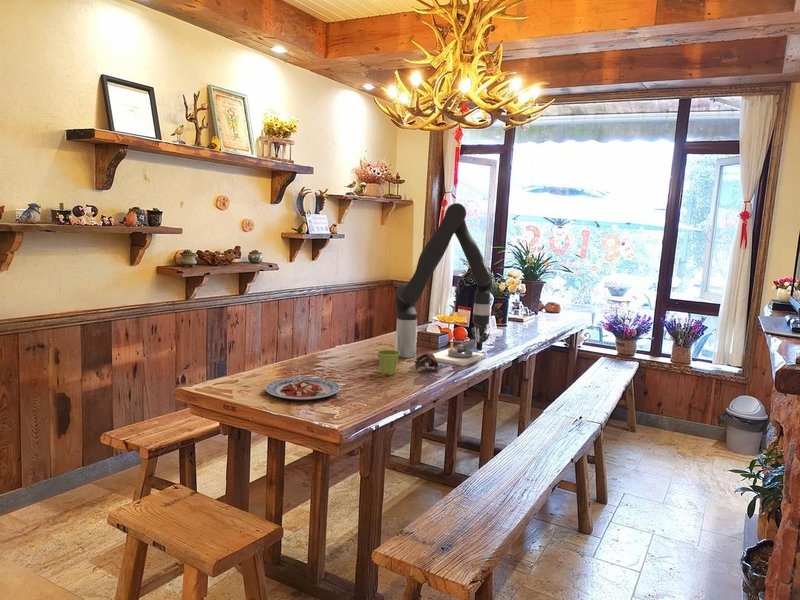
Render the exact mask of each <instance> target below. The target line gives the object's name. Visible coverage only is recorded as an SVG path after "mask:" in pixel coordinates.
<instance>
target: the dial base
mask: <svg viewBox="0 0 800 600" xmlns="http://www.w3.org/2000/svg"><path fill="white" fill-rule="evenodd" d="M451 349H454V343H453V342H450V347H448V348H446V349H444V350H441V351H438V352H435V353H432V354H433V355H434V356H435V359H436V360H437V362H440V363H445V364H451V365H457V366H461V367H465V366H467V365H470V364H472V363H475V362H477V361H480V360H482V359H484V358H486V353H482V352H475V351H472V352H473V353H472V357H468V358H458V357H452V356H449V355H448V351H449V350H451Z"/></svg>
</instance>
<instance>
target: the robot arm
mask: <svg viewBox="0 0 800 600" xmlns="http://www.w3.org/2000/svg"><path fill="white" fill-rule="evenodd" d="M466 216H467V211H466V207H465V206H464V205H463V204H462V203H458V202H455V203H451V204H450V205H448V207H447V208H446V210H445V213H444V216H443V219H442V220H441V222H440V224H439V226H438V227H437V229H436V231H435V232H434V233H433V234H432V236H431V237H430V238H429V240H428V241H427V243H426V244H425V246H424V247H423V249H422V251H421V252H420V255H419V257H418V261H417V264H416V268H415V271H414V273H413V275H412V277H411V279H410V280H409V281H408V282H404V283H401V284H399V286H398V287H397V289H396V293H395V312H396V328H395V329H396V331H395V332H396V333H395V334H394V350H395V351H399V352H400V354H399V357H398V358H406V359H407V358H409V359H410V358H414V357H416V355H417V353H416V352H417V350H416V348H417V331H418V330H417V328H418V312H417V310H416V304H417V303H418V302H419V301H420V299H421V297H422V295H423V292H424V290H425V287H426V286H427V283H428V282H429V280H430V278H431V277H432V275H433V273H434V272H435V270H436V268H437V267H438V265H439V264H440V262H441V260H442V259H443V258H444V257H443V256H444V255H445V253H446V251H447V248H448V247H449V244H450V242H451V240H452V238H453V236H454V235H455V236H456V238H457V241H458V242H459V244H460V247H461V249H462V252H463V254H464V257H465V259H466V260H467V263H468V265H469V267H470V271H471V274H472V277H473V279H474V282H475V283H476V291H475V292H474V300H473V301H474V302H473V308H472V309H473V311H472V323H473V324H474V325H473V327H471V329H470V331H471V334H472V337H473V340H475V342H476V344H475V345H476V349H475V350H477V351H483V343H486V342H487V339H488V338H489V337H490V332H488V331H487V330H488V328H487V327H488V326H487V325H489V323H490V314H491V313H490V312H491V307H490V303H491V302H490V301H491V290H492V284H493V275H492V272H491V271H490V270H488V269H487V268H486V265H485V263H484V262H485V260H484V257H483V254H482V252H481V249H480V247H479V246H478V244H477V242H476V240H475V239H474V238H473V237H472V234H471V232H470V231H469V229H468V226H467V223H466Z"/></svg>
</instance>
